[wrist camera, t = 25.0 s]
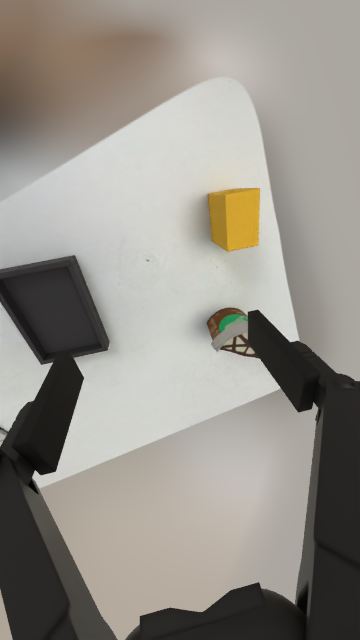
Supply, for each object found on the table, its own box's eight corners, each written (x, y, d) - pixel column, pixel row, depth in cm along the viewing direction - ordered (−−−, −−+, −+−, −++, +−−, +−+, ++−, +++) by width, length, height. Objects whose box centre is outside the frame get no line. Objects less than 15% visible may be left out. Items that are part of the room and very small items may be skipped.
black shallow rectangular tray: (-6, 270, 35) (-17, 276, 32) (74, 255, 35) (70, 259, 33) (46, 355, 44) (41, 364, 41) (109, 341, 44) (107, 350, 42)
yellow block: (207, 193, 34) (225, 194, 27) (236, 188, 34) (260, 187, 27) (211, 240, 37) (227, 251, 31) (237, 235, 38) (258, 245, 31)
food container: (264, 311, 47) (291, 338, 38) (249, 334, 49) (272, 365, 41) (213, 294, 43) (231, 320, 34) (200, 321, 45) (214, 351, 37)
